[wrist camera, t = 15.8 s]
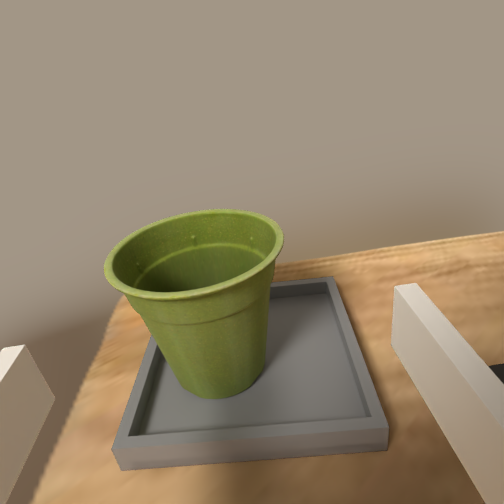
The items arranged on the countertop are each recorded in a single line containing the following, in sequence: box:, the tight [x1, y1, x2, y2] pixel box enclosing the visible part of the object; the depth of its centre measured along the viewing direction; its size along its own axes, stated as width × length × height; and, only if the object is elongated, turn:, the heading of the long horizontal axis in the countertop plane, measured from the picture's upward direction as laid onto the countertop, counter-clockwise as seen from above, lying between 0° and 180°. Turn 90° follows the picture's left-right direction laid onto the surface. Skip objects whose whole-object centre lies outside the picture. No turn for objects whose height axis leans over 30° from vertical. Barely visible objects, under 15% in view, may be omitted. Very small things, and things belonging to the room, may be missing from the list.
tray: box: [111, 276, 389, 471], centre depth 31 cm, size 17×17×2 cm
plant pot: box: [104, 209, 284, 399], centre depth 27 cm, size 12×12×11 cm
